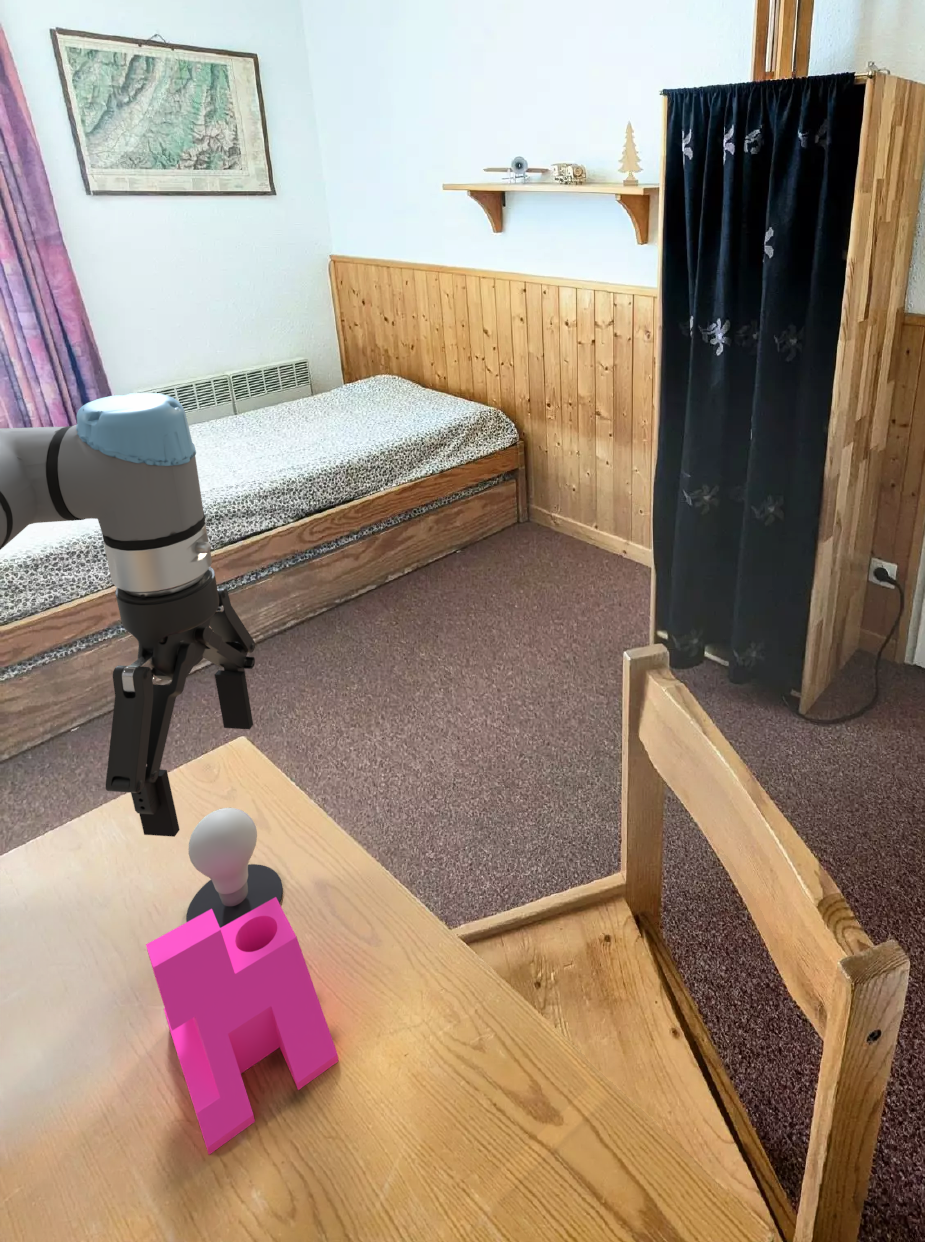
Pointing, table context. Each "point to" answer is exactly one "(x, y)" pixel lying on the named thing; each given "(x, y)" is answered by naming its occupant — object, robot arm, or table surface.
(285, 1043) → the bracket
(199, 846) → the lightbulb
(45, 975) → the table surface
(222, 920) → the coaster
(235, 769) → the table surface
